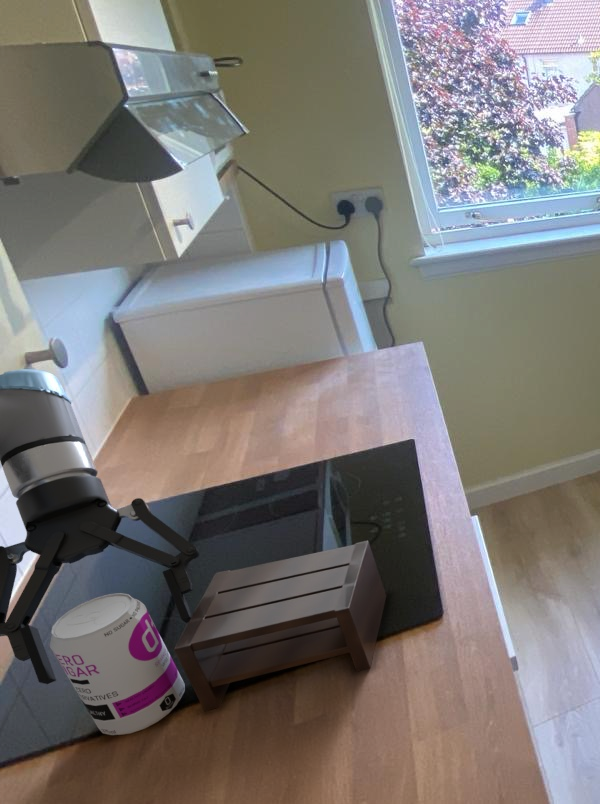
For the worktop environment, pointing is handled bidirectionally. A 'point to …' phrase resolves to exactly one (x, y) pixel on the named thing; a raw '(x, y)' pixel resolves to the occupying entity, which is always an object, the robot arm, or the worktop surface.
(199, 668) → the rack
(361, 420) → the worktop surface
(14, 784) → the worktop surface
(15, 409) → the robot arm
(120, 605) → the white drink can
